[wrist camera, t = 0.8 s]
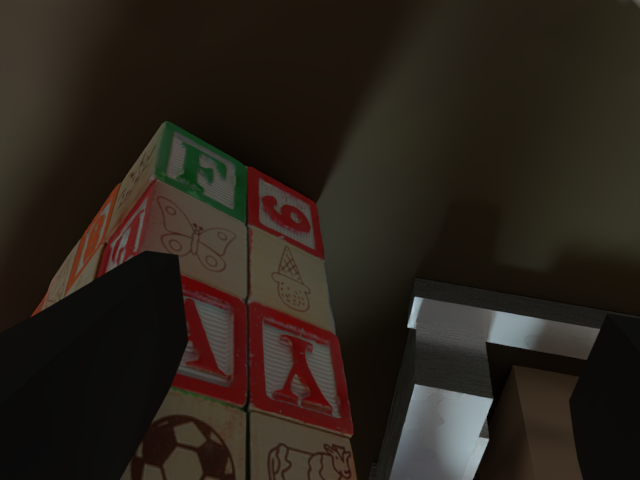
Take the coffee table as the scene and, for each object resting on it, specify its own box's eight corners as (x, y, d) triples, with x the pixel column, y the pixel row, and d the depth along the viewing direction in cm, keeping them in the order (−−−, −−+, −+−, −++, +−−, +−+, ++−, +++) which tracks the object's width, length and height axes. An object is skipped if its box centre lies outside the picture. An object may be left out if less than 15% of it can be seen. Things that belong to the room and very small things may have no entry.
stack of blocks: (83, 440, 30) (16, 735, 21) (-40, 414, 27) (-176, 747, 18) (320, 199, 20) (381, 590, 11) (163, 111, 16) (70, 560, 8)
